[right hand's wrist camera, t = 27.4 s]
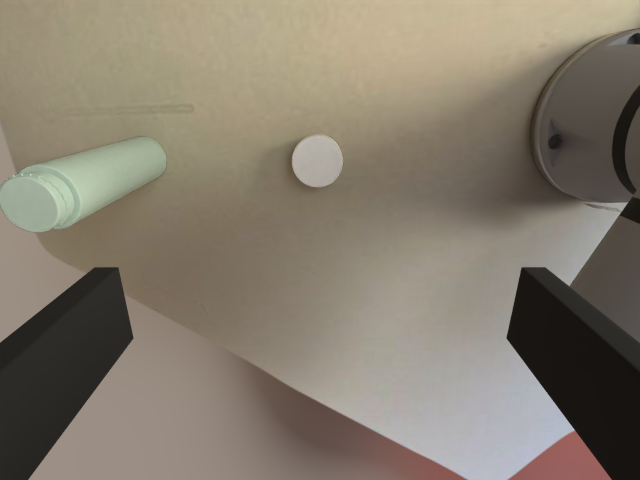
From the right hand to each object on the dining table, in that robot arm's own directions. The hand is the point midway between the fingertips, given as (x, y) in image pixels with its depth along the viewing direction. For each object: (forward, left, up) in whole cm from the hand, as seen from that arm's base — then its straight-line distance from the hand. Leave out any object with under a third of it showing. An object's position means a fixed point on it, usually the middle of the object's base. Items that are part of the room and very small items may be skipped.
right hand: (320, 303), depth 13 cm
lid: (0, 0, -26) cm, 26 cm away
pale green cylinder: (+9, -15, -27) cm, 32 cm away
